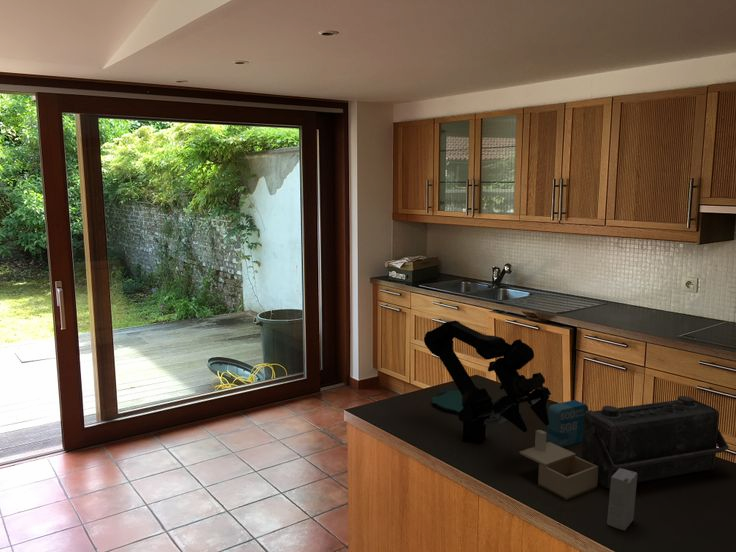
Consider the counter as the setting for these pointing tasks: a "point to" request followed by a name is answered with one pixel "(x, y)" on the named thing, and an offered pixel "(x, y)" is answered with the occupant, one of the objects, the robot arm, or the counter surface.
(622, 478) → the skincare box
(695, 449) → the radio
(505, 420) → the cutlery set
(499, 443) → the counter surface
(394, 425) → the counter surface
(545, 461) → the lid
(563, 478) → the carton
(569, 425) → the data package
